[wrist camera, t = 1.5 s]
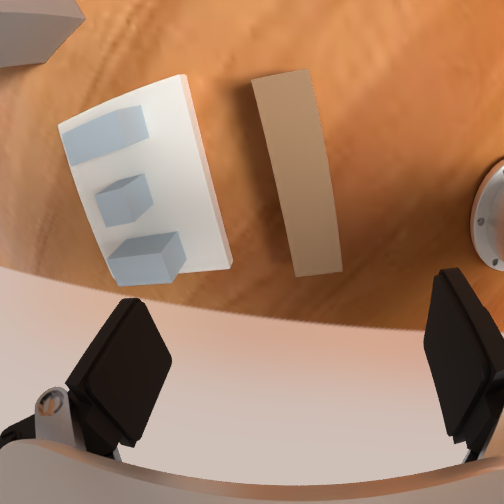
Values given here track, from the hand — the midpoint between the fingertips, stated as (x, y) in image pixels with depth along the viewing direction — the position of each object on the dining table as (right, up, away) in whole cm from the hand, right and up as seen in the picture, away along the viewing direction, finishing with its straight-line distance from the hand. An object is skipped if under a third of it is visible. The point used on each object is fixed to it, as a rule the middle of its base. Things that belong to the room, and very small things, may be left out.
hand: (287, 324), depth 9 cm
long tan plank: (+3, +9, +16) cm, 19 cm away
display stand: (-12, +8, +19) cm, 24 cm away
